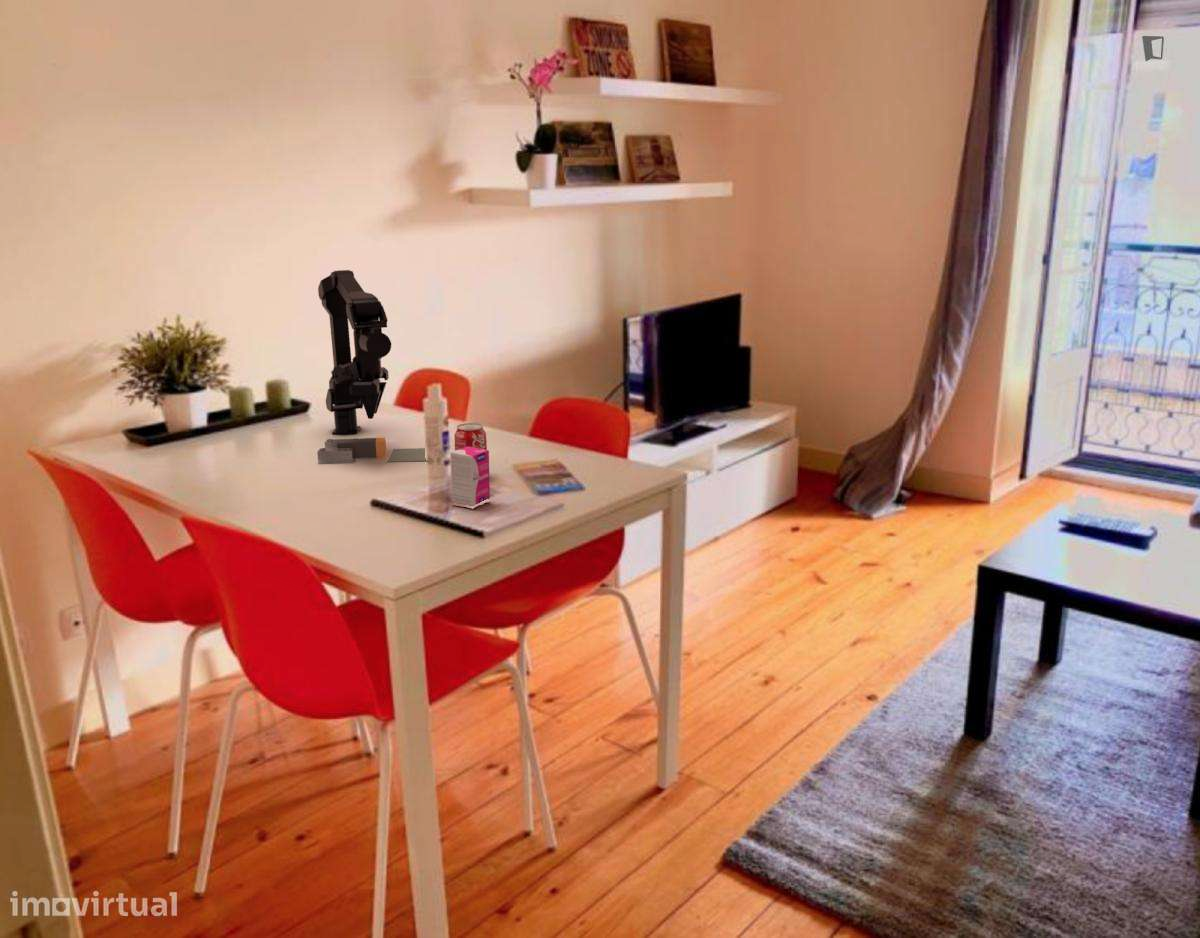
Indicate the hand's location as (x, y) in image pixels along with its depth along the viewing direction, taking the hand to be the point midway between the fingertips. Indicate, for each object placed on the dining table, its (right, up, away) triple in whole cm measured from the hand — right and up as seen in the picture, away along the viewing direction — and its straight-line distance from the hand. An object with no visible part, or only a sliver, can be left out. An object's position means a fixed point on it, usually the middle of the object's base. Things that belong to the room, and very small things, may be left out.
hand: (372, 415), depth 230 cm
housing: (-8, -10, +2) cm, 13 cm away
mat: (+9, -9, +3) cm, 13 cm away
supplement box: (+28, -20, -31) cm, 46 cm away
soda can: (+26, -15, -14) cm, 33 cm away
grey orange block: (-3, -10, +3) cm, 11 cm away
